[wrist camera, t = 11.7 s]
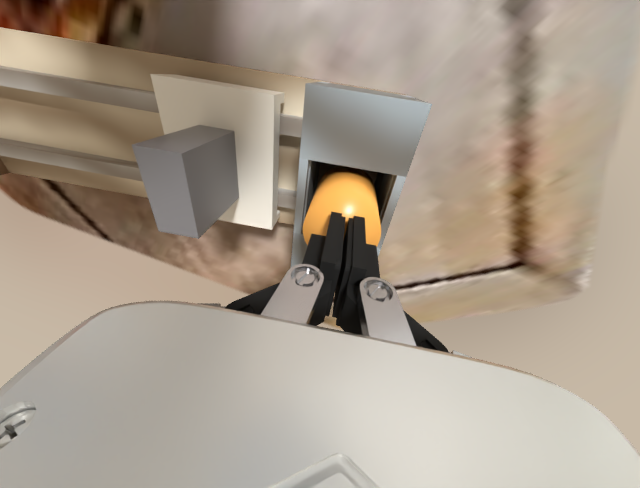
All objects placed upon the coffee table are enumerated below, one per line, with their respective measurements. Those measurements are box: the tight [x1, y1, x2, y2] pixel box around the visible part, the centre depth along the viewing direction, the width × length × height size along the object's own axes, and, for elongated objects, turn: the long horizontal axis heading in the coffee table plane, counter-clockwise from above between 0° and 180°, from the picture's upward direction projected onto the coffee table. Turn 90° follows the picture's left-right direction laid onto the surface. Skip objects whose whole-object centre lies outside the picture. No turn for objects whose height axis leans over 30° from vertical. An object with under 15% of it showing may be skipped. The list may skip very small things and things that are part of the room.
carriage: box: [132, 74, 284, 239], centre depth 16 cm, size 10×8×8 cm
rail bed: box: [0, 28, 432, 267], centre depth 18 cm, size 12×39×8 cm, turn 82°
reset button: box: [303, 166, 381, 247], centre depth 14 cm, size 4×4×5 cm
